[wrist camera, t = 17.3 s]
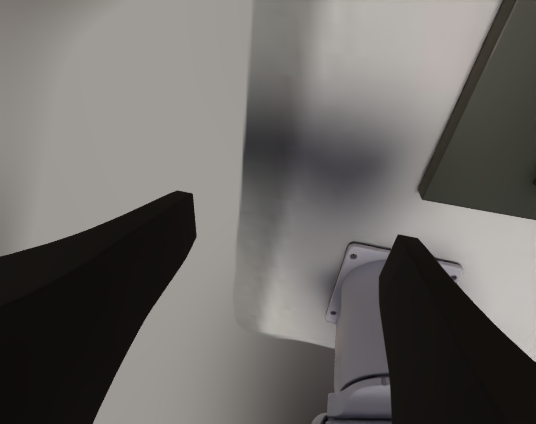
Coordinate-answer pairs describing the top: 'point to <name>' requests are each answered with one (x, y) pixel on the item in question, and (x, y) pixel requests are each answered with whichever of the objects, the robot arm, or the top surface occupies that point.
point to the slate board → (493, 125)
